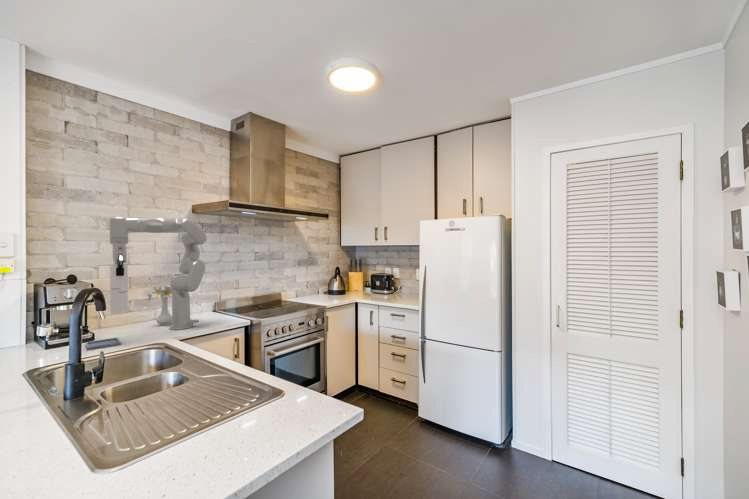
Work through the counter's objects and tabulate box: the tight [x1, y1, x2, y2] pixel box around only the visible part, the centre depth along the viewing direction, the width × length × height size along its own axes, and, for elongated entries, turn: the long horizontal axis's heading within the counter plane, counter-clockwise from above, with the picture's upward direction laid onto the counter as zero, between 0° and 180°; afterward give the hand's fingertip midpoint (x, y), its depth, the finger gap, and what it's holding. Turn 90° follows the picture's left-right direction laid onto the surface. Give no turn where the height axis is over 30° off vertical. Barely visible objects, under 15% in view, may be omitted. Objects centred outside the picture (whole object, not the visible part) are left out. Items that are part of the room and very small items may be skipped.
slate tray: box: [85, 337, 122, 351], centre depth 170 cm, size 13×13×2 cm
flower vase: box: [145, 285, 172, 327], centre depth 216 cm, size 13×18×25 cm
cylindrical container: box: [109, 263, 129, 315], centre depth 175 cm, size 7×7×25 cm
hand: (118, 275), depth 175 cm, fingers closed on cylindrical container, 7 cm apart
